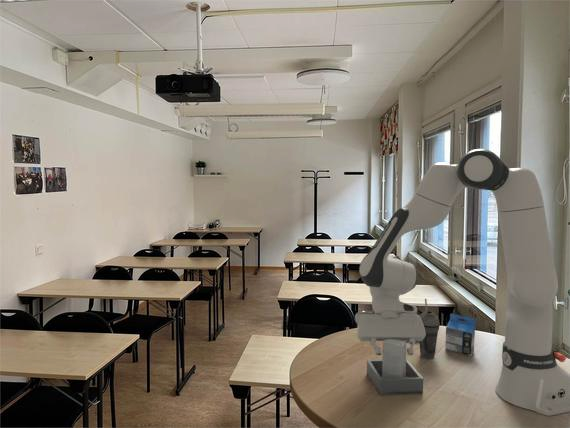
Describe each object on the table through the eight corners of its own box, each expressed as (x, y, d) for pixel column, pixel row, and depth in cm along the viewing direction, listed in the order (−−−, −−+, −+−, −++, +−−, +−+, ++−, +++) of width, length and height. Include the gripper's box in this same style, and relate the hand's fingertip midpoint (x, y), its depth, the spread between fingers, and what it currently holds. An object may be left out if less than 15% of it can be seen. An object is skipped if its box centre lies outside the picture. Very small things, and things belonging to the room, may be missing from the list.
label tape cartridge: (444, 349, 144) (445, 315, 143) (448, 346, 147) (449, 313, 146) (470, 356, 138) (472, 321, 137) (474, 353, 141) (475, 318, 140)
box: (406, 372, 127) (406, 358, 127) (423, 393, 115) (423, 378, 114) (366, 374, 126) (367, 360, 126) (379, 395, 114) (379, 380, 113)
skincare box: (405, 380, 120) (407, 341, 119) (401, 386, 117) (403, 346, 116) (385, 375, 124) (386, 337, 123) (381, 381, 120) (382, 341, 119)
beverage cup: (440, 361, 134) (442, 303, 133) (417, 359, 136) (419, 301, 134) (436, 352, 142) (438, 296, 140) (415, 350, 143) (416, 295, 141)
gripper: (355, 306, 126) (360, 350, 117) (421, 306, 126) (431, 350, 117) (353, 315, 130) (357, 358, 122) (416, 315, 130) (426, 358, 122)
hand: (394, 354), depth 119 cm, fingers open, 8 cm apart
